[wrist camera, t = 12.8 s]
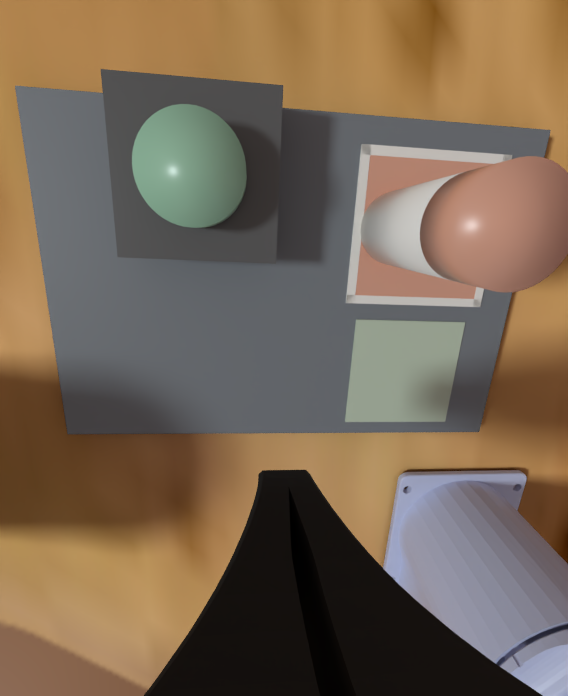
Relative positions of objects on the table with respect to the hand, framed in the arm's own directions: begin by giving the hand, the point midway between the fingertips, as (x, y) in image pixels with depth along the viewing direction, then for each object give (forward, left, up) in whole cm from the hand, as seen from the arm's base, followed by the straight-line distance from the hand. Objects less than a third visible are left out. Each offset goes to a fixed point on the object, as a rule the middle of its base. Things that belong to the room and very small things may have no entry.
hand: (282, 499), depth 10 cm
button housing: (+9, +3, -9) cm, 13 cm away
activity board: (+5, -1, -9) cm, 10 cm away
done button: (+9, +3, -6) cm, 11 cm away
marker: (+8, -6, -8) cm, 13 cm away
